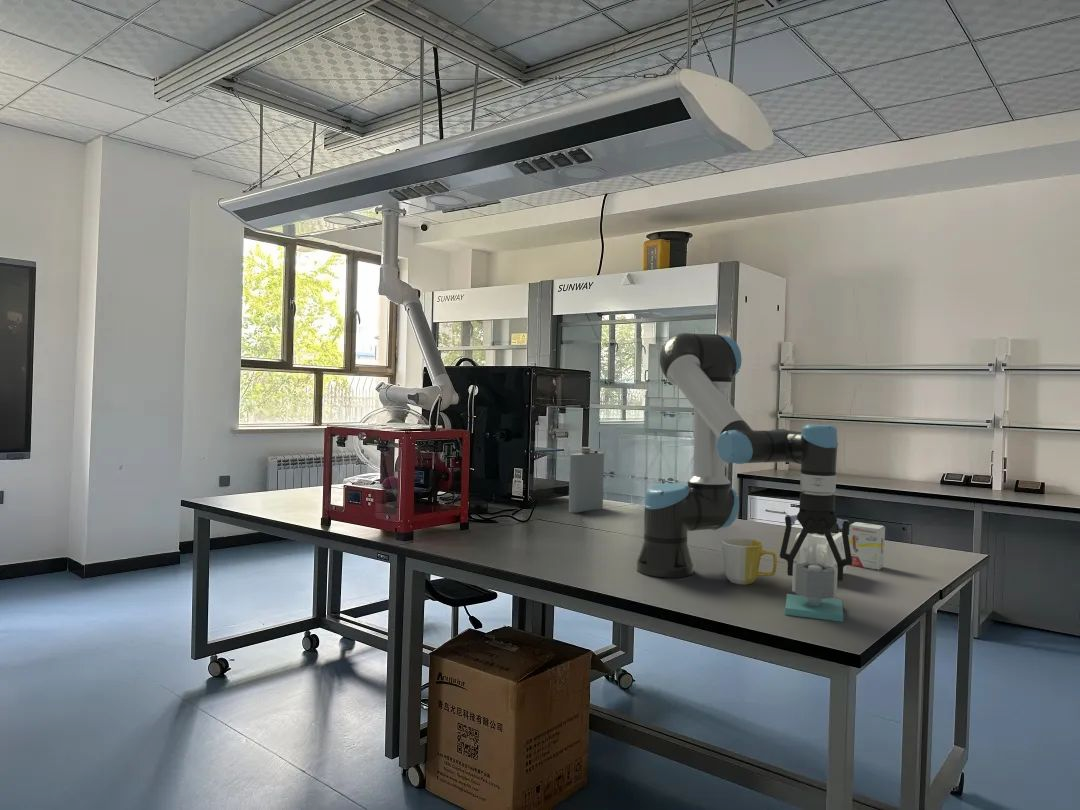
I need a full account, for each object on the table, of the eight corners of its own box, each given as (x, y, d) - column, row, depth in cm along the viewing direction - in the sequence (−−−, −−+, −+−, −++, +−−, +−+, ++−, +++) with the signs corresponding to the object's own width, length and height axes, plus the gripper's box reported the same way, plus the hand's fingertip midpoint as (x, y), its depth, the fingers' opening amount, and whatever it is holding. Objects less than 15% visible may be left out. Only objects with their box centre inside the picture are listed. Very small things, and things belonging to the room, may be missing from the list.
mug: (714, 582, 191) (715, 542, 191) (728, 574, 200) (729, 535, 199) (768, 592, 183) (769, 549, 183) (779, 583, 192) (781, 542, 192)
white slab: (596, 506, 302) (597, 445, 302) (604, 508, 299) (605, 446, 298) (565, 511, 291) (566, 447, 290) (573, 513, 287) (575, 448, 287)
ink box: (847, 564, 213) (848, 523, 213) (852, 561, 217) (854, 521, 216) (878, 570, 207) (880, 528, 207) (884, 567, 211) (885, 525, 211)
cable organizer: (809, 567, 209) (810, 526, 209) (848, 573, 203) (850, 531, 203) (792, 578, 197) (794, 534, 197) (834, 585, 191) (835, 540, 191)
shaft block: (785, 614, 166) (786, 570, 165) (786, 600, 177) (788, 558, 176) (843, 621, 161) (844, 576, 161) (841, 606, 173) (842, 563, 172)
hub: (795, 595, 166) (796, 569, 166) (795, 587, 174) (796, 561, 174) (833, 600, 164) (834, 573, 164) (832, 591, 171) (833, 565, 171)
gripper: (768, 491, 168) (765, 591, 169) (868, 498, 161) (865, 602, 162) (770, 487, 175) (767, 582, 176) (866, 493, 168) (862, 593, 169)
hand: (814, 592), depth 169 cm, fingers closed on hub, 8 cm apart
